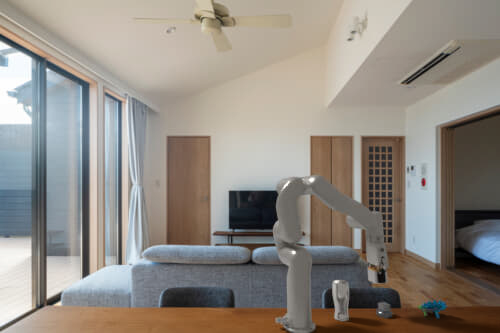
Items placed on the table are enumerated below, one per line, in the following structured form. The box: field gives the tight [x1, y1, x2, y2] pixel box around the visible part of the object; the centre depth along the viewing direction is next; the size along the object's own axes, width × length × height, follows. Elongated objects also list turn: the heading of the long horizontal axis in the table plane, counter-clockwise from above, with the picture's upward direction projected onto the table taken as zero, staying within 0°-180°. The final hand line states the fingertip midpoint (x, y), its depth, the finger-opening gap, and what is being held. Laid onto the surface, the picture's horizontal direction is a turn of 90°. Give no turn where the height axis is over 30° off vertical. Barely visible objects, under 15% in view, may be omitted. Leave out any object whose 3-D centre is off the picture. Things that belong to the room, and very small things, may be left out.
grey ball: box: [376, 301, 394, 319], centre depth 126 cm, size 6×6×5 cm
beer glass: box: [331, 279, 350, 322], centre depth 124 cm, size 7×7×15 cm
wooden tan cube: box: [367, 265, 389, 285], centre depth 128 cm, size 6×6×6 cm
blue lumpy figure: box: [418, 299, 448, 319], centre depth 125 cm, size 11×6×10 cm
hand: (377, 280), depth 127 cm, fingers closed on wooden tan cube, 5 cm apart
